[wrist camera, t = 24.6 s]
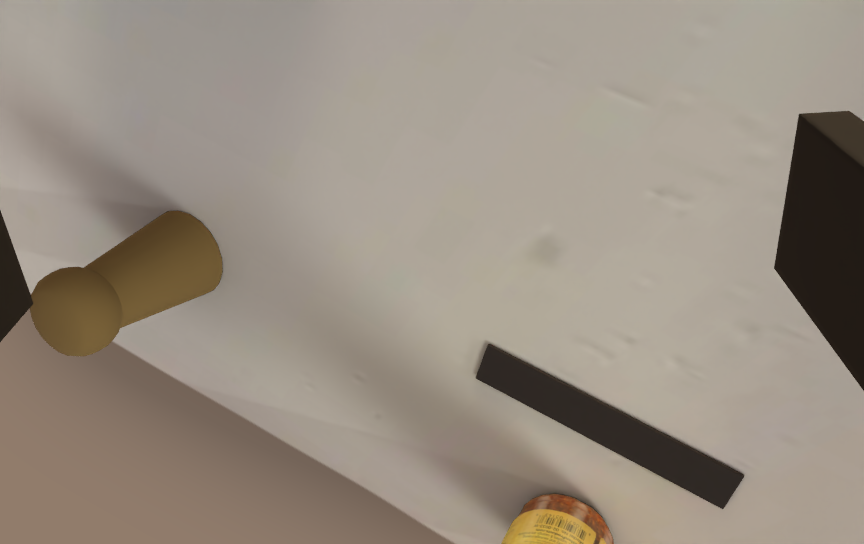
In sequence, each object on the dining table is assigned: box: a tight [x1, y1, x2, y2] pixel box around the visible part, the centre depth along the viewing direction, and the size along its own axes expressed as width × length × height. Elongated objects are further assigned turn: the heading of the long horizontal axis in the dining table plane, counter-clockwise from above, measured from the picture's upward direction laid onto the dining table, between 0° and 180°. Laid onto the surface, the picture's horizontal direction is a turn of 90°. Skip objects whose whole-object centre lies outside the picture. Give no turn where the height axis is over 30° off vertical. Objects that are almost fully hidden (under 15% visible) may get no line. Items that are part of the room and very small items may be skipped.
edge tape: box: [476, 344, 744, 509], centre depth 44 cm, size 15×2×1 cm, turn 74°
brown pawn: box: [30, 211, 223, 356], centre depth 49 cm, size 6×6×11 cm
